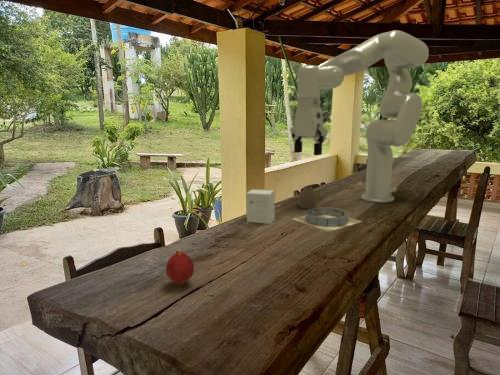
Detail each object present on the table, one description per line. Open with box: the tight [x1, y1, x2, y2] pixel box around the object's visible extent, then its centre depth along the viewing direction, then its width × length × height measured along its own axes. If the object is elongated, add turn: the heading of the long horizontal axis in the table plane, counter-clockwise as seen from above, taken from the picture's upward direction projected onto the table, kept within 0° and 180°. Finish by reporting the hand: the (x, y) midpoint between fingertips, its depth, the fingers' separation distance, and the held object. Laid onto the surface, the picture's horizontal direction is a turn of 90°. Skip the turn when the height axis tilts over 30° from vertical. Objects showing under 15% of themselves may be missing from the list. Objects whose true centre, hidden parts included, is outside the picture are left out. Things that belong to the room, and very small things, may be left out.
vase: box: [298, 185, 319, 211], centre depth 131 cm, size 7×7×9 cm
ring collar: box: [304, 206, 350, 227], centre depth 116 cm, size 13×13×2 cm
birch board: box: [292, 215, 363, 233], centre depth 116 cm, size 16×16×1 cm
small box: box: [245, 189, 276, 225], centre depth 116 cm, size 8×6×10 cm
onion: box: [165, 249, 195, 286], centre depth 75 cm, size 6×6×8 cm
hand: (307, 153), depth 126 cm, fingers open, 9 cm apart
